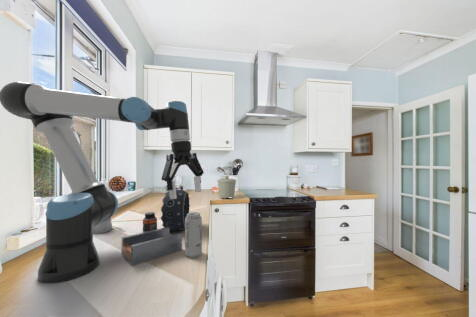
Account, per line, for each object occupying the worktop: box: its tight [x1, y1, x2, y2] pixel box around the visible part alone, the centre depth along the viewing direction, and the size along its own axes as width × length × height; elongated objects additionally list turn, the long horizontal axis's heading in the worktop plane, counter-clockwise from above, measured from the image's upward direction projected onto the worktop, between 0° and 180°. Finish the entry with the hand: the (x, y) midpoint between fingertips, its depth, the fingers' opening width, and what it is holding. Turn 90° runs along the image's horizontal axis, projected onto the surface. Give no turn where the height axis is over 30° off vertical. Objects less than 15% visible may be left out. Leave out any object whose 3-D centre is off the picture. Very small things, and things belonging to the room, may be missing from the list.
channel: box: [121, 227, 183, 266], centre depth 81 cm, size 18×12×6 cm, turn 134°
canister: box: [216, 175, 237, 199], centre depth 199 cm, size 18×18×21 cm
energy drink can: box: [184, 211, 203, 259], centre depth 78 cm, size 6×6×15 cm
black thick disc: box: [160, 189, 191, 232], centre depth 107 cm, size 11×20×20 cm, turn 4°
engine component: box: [93, 217, 113, 234], centre depth 108 cm, size 11×20×10 cm
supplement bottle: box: [142, 211, 158, 233], centre depth 95 cm, size 6×6×11 cm
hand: (186, 195), depth 84 cm, fingers open, 13 cm apart
